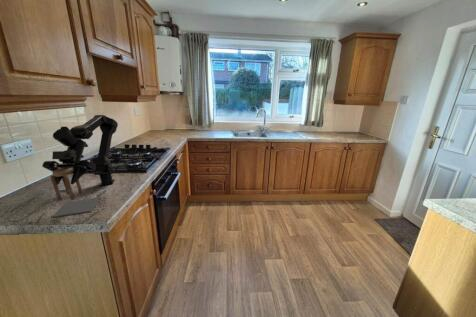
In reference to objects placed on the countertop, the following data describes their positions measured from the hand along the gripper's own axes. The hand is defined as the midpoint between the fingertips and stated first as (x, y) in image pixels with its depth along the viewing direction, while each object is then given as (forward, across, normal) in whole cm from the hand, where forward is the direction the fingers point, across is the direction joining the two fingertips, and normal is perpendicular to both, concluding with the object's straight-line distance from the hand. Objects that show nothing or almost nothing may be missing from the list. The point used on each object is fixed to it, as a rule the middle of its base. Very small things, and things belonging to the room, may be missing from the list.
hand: (64, 184), depth 85 cm
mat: (+7, 0, +12) cm, 14 cm away
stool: (+4, 0, +6) cm, 7 cm away
